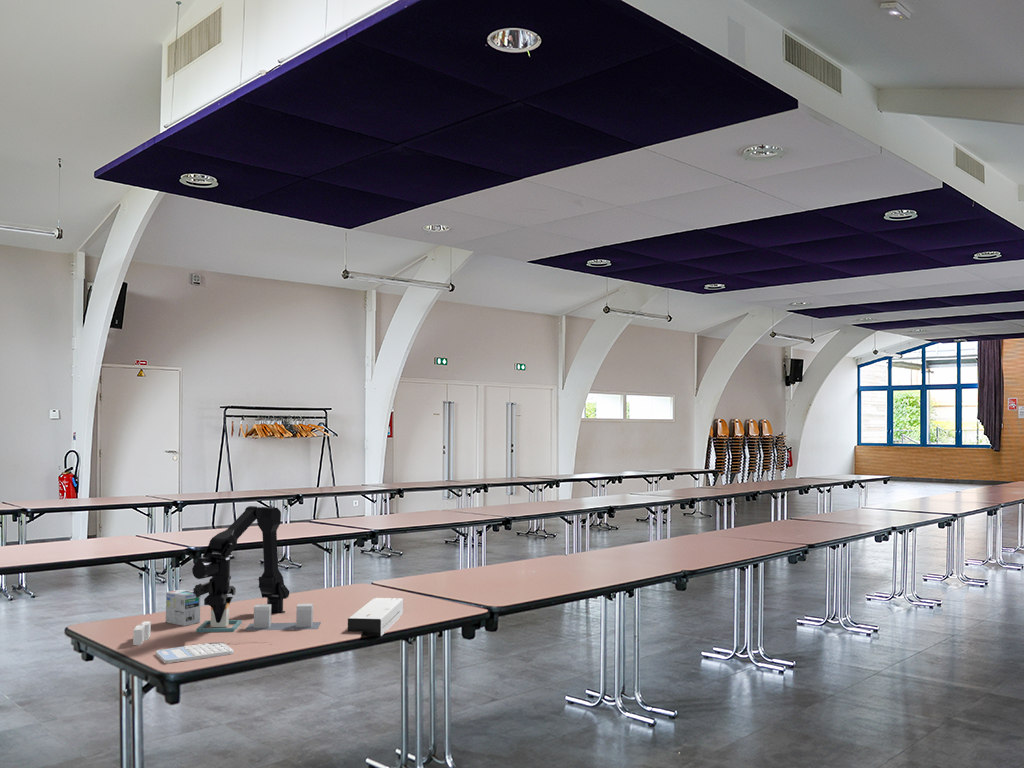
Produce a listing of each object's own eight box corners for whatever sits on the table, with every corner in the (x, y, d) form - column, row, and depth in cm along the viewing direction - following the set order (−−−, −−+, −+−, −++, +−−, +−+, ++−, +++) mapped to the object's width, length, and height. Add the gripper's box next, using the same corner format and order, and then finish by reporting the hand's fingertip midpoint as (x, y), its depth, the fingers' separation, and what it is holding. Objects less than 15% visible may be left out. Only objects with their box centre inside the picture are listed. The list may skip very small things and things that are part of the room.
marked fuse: (213, 624, 280) (214, 603, 281) (228, 624, 281) (229, 603, 281) (210, 627, 276) (211, 606, 277) (225, 626, 277) (226, 605, 277)
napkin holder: (138, 649, 258) (139, 630, 258) (111, 645, 262) (112, 627, 263) (175, 638, 272) (175, 620, 272) (148, 635, 276) (149, 617, 276)
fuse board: (249, 627, 284) (250, 623, 285) (321, 626, 287) (321, 622, 287) (243, 635, 275) (243, 630, 275) (317, 633, 277) (317, 628, 277)
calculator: (234, 655, 252) (234, 649, 252) (164, 665, 240) (165, 659, 241) (221, 646, 263) (222, 640, 263) (154, 655, 251) (154, 649, 251)
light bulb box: (200, 622, 292) (201, 591, 292) (184, 626, 286) (185, 594, 287) (180, 619, 297) (181, 588, 298) (164, 622, 291) (165, 591, 292)
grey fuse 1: (255, 625, 282) (256, 604, 282) (270, 625, 282) (271, 604, 283) (253, 628, 278) (253, 607, 278) (268, 627, 278) (269, 606, 279)
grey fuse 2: (297, 624, 283) (298, 603, 284) (312, 624, 284) (313, 603, 284) (296, 627, 279) (296, 606, 280) (311, 627, 280) (311, 606, 280)
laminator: (380, 638, 273) (380, 619, 274) (344, 637, 274) (344, 618, 275) (403, 615, 307) (403, 598, 307) (370, 614, 308) (370, 597, 308)
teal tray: (205, 628, 284) (205, 620, 284) (241, 627, 285) (241, 619, 285) (196, 636, 272) (196, 629, 272) (233, 636, 273) (234, 628, 273)
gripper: (203, 569, 288) (202, 615, 287) (188, 579, 269) (187, 628, 269) (236, 569, 289) (235, 614, 288) (223, 579, 271) (222, 627, 270)
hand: (219, 621), depth 279 cm, fingers closed on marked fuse, 4 cm apart
